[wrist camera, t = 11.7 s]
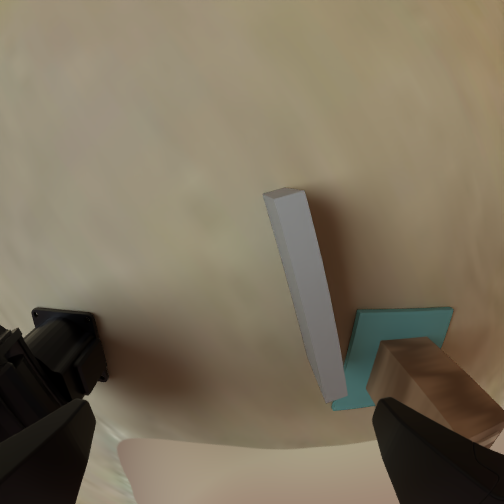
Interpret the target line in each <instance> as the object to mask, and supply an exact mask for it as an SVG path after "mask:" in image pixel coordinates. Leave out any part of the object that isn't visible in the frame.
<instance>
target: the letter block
mask: <svg viewBox="0 0 504 504" xmlns="http://www.w3.org/2000/svg"><path fill="white" fill-rule="evenodd" d="M366 390H367V392H368V393H369V395H370V397H371V399H372V400H373V402H374V404H375V405H377V403H378V401H379V400H380V399H381V398H386V397H393V398H395V399H396V400H398V401H400V402H402V403H403V404H405V405H407V406H409V407H410V408H412V409H414V410H416V411H417V412H419V413H421V414H423V415H425V416H426V417H428V418H430V419H432V420H434V421H436V422H437V423H439V424H441V425H443V426H445V427H447V428H449V429H450V430H452V431H454V432H456V433H458V434H460V435H462V436H464V437H466V438H468V439H470V440H472V442H476V443H478V444H480V445H482V446H484V447H486V448H488V449H489V448H490V447H491V446H492V444H493V443H494V442H495V440H496V439H497V437H498V436H499V434H500V433H501V431H502V430H503V428H504V410H503V409H502V408H501V407H500V406H499V405H498V404H497V403H496V402H495V401H494V400H493V399H492V398H491V397H490V396H489V395H488V394H487V393H486V392H485V391H484V390H483V389H482V388H481V387H480V386H479V385H478V384H477V383H476V382H475V381H474V380H473V379H472V378H471V377H470V376H469V375H468V374H467V373H466V372H465V371H464V370H463V369H462V368H460V367H459V366H458V365H457V364H456V363H455V362H454V361H453V360H452V359H451V358H450V357H449V356H448V355H447V354H445V353H444V352H443V351H442V350H441V349H440V348H439V347H438V346H437V345H436V344H435V343H433V342H432V341H431V340H430V339H429V338H428V337H427V336H426V337H417V338H406V339H394V340H381V341H380V344H379V348H378V351H377V354H376V358H375V361H374V364H373V367H372V370H371V373H370V376H369V379H368V382H367V385H366Z"/></svg>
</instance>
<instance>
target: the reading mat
mask: <svg viewBox="0 0 504 504" xmlns="http://www.w3.org/2000/svg"><path fill="white" fill-rule="evenodd" d="M453 310H454V309H452V308H451V307H438V308H413V309H362V310H357V313H356V318H355V322H354V327H353V331H352V335H351V339H350V343H349V347H348V351H347V355H346V359H345V363H344V366H343V368H344V374H345V380H346V387H347V393H348V396H346V397H343V398H340V399H337V400H335V401H333V403H332V409H333V411H338V410H347V409H356V408H363V407H370V406H376V405H375V404H374V402H373V400H372V399H371V397H370V395H369V393H368V392H367V390H366V385H367V382H368V379H369V376H370V373H371V370H372V367H373V364H374V361H375V358H376V354H377V351H378V348H379V344H380V341H381V340H394V339H406V338H417V337H426V336H427V337H428V338H429V339H430V340H431V341H432V342H433V343H435V344H436V345H437V346H438V347H439V348H440V349H441V347H442V344H443V341H444V339H445V336H446V333H447V330H448V327H449V323H450V320H451V317H452V314H453Z"/></svg>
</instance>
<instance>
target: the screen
mask: <svg viewBox="0 0 504 504" xmlns="http://www.w3.org/2000/svg"><path fill="white" fill-rule="evenodd" d="M263 197H264V200H265V204H266V207H267V211H268V214H269V218H270V221H271V225H272V228H273V231H274V235H275V238H276V242H277V246H278V249H279V253H280V256H281V260H282V263H283V267H284V271H285V274H286V278H287V281H288V285H289V289H290V292H291V296H292V300H293V303H294V307H295V311H296V315H297V318H298V322H299V326H300V330H301V334H302V338H303V341H304V345H305V349H306V353H307V357H308V360H309V362H310V365H311V367H312V370H313V372H314V375H315V377H316V380H317V382H318V385H319V387H320V390H321V392H322V395H323V397H324V400H325V402H326V403H329V402H332V401H335V400H337V399H340V398H343V397H346V396H348V393H347V387H346V380H345V374H344V368H343V362H342V356H341V350H340V345H339V339H338V334H337V329H336V323H335V318H334V313H333V308H332V303H331V299H330V294H329V289H328V284H327V280H326V275H325V271H324V267H323V262H322V258H321V254H320V249H319V245H318V241H317V237H316V233H315V229H314V225H313V221H312V217H311V213H310V209H309V206H308V202H307V198H306V195H305V191H304V190H298V189H291V188H282V189H278V190H275V191H271V192H268V193H264V194H263Z"/></svg>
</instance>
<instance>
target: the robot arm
mask: <svg viewBox="0 0 504 504" xmlns="http://www.w3.org/2000/svg"><path fill="white" fill-rule="evenodd" d="M31 313H32V317H33V321H34V325H35V328H34V329H33V330H32V331H31V332H30V333H29V334H28V335H26V336H25V337H24V338H23V337H22V333H21V331H20V329H19V328H16V329H14V330H12V331H11V330H7V329H5V328H4V327H2V326H1V325H0V504H75V503H76V499H77V496H78V492H79V489H80V486H81V482H82V479H83V476H84V473H85V469H86V466H87V463H88V459H89V454H90V449H91V444H92V439H93V434H94V430H95V425H96V420H95V416H94V414H93V412H92V409H91V407H90V404H89V402H88V401H86V400H83V397H84V396H85V395H89V394H90V393H91V392H92V390H93V388H94V387H95V385H96V383H97V381H100V382H106V381H107V380H108V378H109V375H108V371H107V368H106V366H107V363H106V359H105V356H104V352H103V348H102V344H101V341H100V339H99V337H98V332H97V328H96V323H95V319H94V316H93V315H92V314H91V313H88V312H77V311H65V310H55V309H45V308H34V309H33V310H32V312H31ZM36 313H37V314H38V315H37V314H36ZM86 317H87V318H89V320H90V321H88V320H87V318H86ZM103 376H104V377H103ZM372 422H373V426H374V430H375V433H376V437H377V441H378V444H379V448H380V452H381V456H382V459H383V462H384V464H385V467H386V469H387V472H388V474H389V477H390V479H391V482H392V484H393V487H394V490H395V492H396V495H397V497H398V500H399V503H400V504H504V455H503V454H500V453H498V452H495V451H492V450H490V449H488V448H486V447H484V446H482V445H480V444H478V443H476V442H472V440H470V439H468V438H466V437H464V436H462V435H460V434H458V433H456V432H454V431H452V430H450V429H449V428H447V427H445V426H443V425H441V424H439V423H437V422H436V421H434V420H432V419H430V418H428V417H426V416H425V415H423V414H421V413H419V412H417V411H416V410H414V409H412V408H410V407H409V406H407V405H405V404H403V403H402V402H400V401H398V400H396V399H395V398H393V397H386V398H381V399H380V400H379V401H378V403H377V405H376V408H375V411H374V414H373V418H372Z"/></svg>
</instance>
